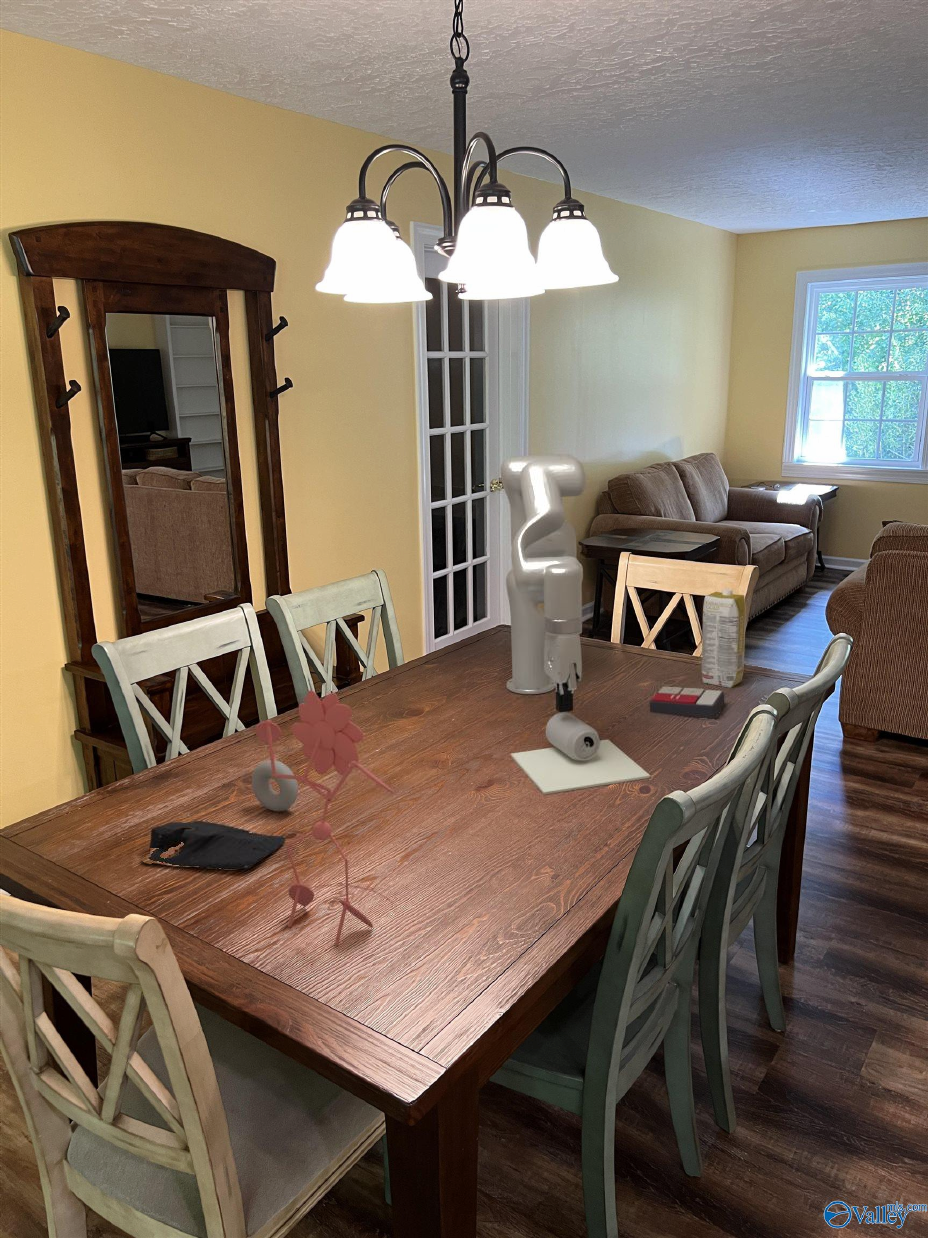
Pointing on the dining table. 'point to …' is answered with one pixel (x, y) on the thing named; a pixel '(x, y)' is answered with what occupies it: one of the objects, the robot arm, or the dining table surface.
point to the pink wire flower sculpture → (326, 745)
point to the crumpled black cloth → (211, 845)
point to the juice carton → (723, 638)
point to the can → (572, 736)
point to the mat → (577, 768)
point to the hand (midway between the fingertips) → (564, 710)
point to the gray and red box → (688, 702)
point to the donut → (267, 793)
